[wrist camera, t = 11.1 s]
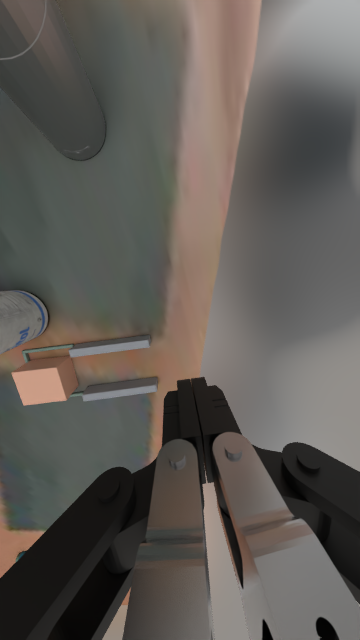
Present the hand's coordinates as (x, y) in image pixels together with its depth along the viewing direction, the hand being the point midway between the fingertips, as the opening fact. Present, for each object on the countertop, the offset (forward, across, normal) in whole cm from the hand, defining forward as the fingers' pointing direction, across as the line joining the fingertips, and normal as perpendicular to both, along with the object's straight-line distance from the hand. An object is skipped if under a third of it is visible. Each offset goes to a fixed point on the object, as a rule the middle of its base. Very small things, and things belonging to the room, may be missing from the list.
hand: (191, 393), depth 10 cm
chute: (+27, +13, +11) cm, 32 cm away
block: (+27, +27, +11) cm, 40 cm away
